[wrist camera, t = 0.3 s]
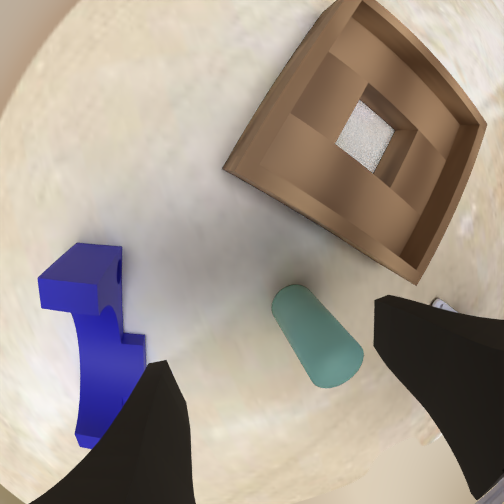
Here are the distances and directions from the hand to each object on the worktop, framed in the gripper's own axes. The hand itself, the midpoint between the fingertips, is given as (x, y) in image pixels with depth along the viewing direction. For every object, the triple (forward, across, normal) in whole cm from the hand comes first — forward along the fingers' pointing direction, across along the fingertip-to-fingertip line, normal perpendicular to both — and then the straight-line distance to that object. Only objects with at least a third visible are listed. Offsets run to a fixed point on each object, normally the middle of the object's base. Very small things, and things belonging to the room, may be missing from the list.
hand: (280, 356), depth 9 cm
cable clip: (+10, +9, +3) cm, 14 cm away
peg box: (+10, -10, -6) cm, 15 cm away
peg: (+10, -3, +4) cm, 11 cm away
